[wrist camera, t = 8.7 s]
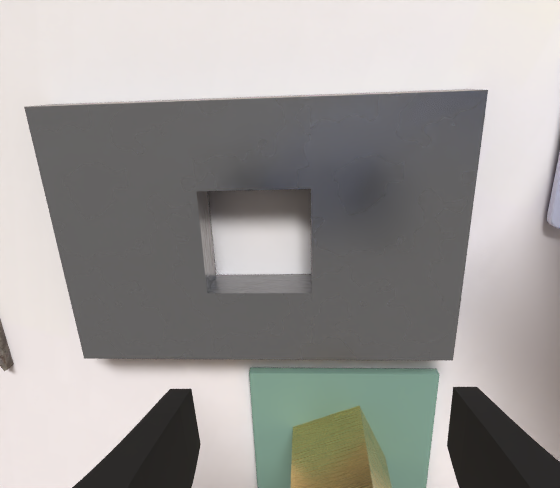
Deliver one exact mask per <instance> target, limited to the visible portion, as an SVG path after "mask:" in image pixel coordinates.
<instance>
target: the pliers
mask: <svg viewBox="0 0 560 488" xmlns="http://www.w3.org/2000/svg"><path fill="white" fill-rule="evenodd" d="M12 365H13V360H12V357H11V354H10V350H9V347H8V344H7V340H6V337H5V333H4V330H3V327H2V323H1V320H0V366H1V368H2V369H3V370H4V371H6V370H8V369H9V368H10V367H11V366H12Z"/></svg>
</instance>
